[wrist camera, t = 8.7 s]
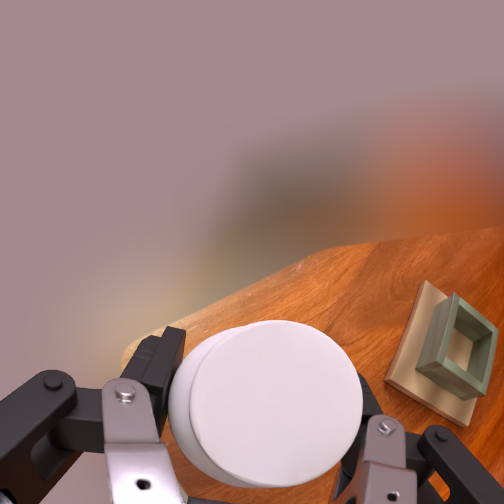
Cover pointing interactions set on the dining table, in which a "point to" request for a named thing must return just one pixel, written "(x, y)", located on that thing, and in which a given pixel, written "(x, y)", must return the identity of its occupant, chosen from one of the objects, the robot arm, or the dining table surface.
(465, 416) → the holder
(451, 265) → the dining table surface
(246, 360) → the supplement bottle
